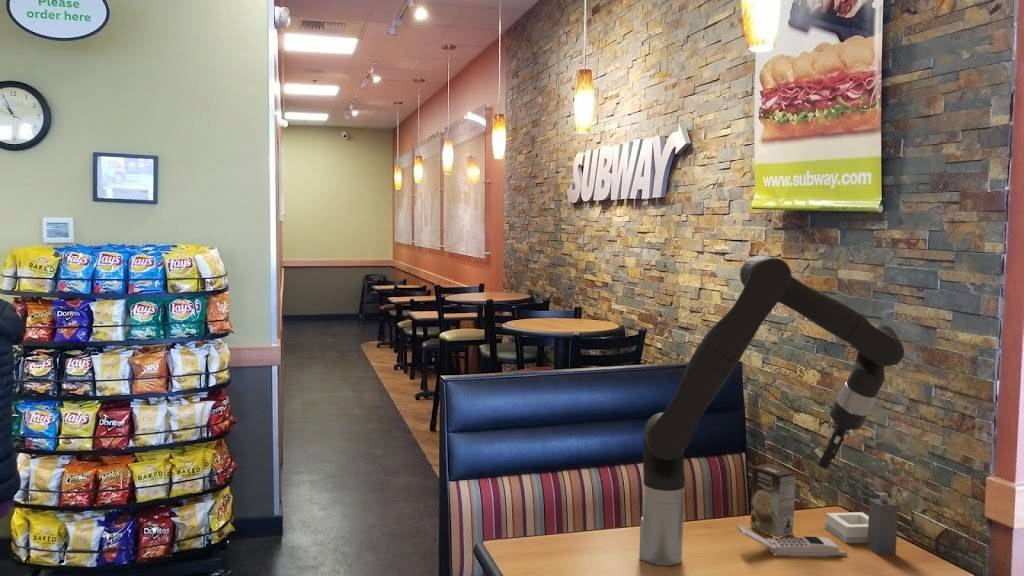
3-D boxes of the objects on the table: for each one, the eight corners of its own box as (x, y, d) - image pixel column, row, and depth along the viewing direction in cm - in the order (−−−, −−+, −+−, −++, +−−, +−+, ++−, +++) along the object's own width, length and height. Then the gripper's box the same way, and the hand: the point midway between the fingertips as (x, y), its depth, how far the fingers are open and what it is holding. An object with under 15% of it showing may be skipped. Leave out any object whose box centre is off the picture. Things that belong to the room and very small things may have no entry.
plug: (877, 555, 187) (880, 496, 186) (867, 547, 191) (870, 490, 191) (895, 554, 187) (898, 496, 187) (884, 547, 192) (887, 490, 191)
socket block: (845, 543, 194) (846, 527, 194) (825, 528, 204) (825, 513, 204) (884, 542, 195) (885, 526, 195) (861, 527, 205) (862, 512, 205)
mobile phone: (735, 523, 190) (838, 524, 191) (734, 547, 191) (837, 548, 191) (742, 532, 184) (849, 534, 185) (741, 557, 185) (848, 558, 185)
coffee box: (748, 527, 204) (751, 465, 203) (766, 523, 207) (769, 462, 206) (776, 539, 195) (779, 475, 195) (794, 535, 199) (797, 472, 198)
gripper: (841, 385, 192) (815, 438, 199) (832, 409, 181) (804, 464, 188) (872, 399, 190) (845, 452, 197) (865, 424, 178) (836, 480, 185)
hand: (825, 458), depth 192 cm, fingers open, 8 cm apart
